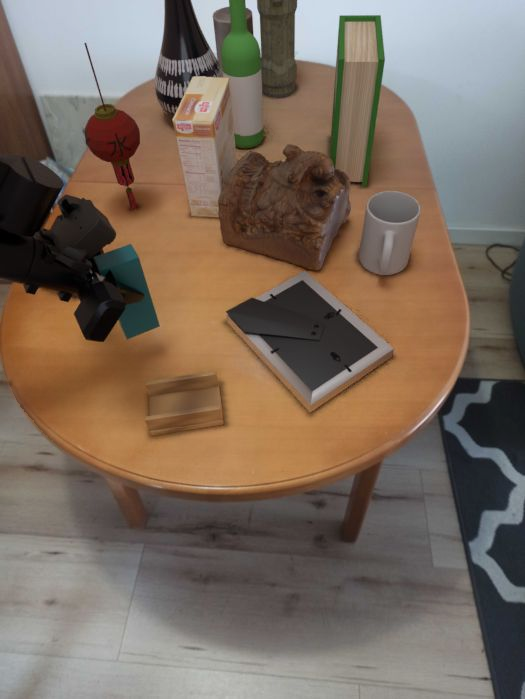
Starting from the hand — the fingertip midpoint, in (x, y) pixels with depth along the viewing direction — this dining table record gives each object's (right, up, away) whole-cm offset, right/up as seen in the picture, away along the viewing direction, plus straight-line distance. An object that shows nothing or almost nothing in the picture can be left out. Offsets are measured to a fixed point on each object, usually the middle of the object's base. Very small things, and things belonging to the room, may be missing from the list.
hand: (138, 289), depth 68 cm
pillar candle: (+10, +64, +64) cm, 91 cm away
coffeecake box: (+7, +23, +33) cm, 41 cm away
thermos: (+21, +57, +58) cm, 84 cm away
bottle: (+13, +38, +45) cm, 60 cm away
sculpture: (+21, +13, +26) cm, 36 cm away
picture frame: (+24, -7, +10) cm, 27 cm away
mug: (+37, +6, +19) cm, 43 cm away
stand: (+6, -17, +3) cm, 18 cm away
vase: (+1, +47, +52) cm, 70 cm away
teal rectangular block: (-1, -5, +5) cm, 7 cm away
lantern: (-9, +20, +32) cm, 38 cm away
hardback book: (+35, +31, +38) cm, 61 cm away
